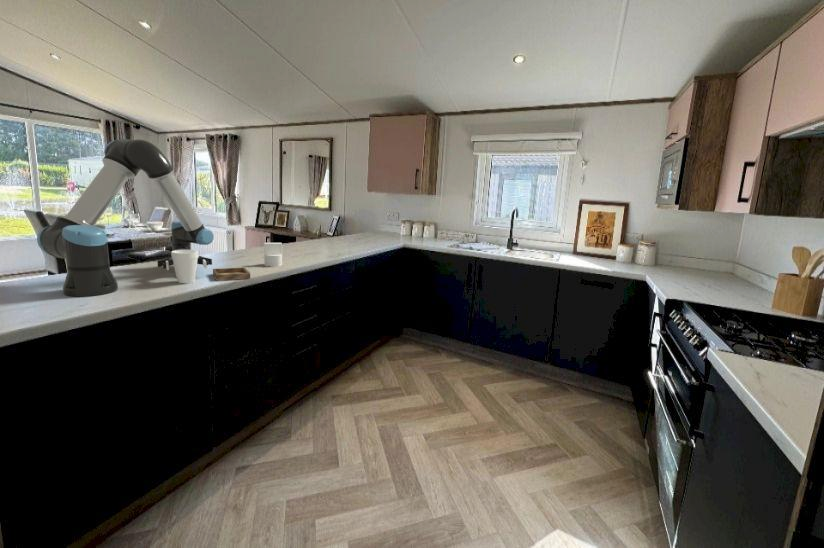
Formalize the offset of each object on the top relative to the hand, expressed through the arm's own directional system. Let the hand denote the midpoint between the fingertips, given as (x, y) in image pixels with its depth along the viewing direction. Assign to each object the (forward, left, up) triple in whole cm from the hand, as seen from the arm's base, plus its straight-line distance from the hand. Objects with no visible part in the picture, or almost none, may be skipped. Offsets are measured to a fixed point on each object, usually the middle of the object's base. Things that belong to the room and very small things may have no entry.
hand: (187, 266), depth 154 cm
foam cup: (-1, 0, -7) cm, 7 cm away
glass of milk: (+41, +27, -7) cm, 50 cm away
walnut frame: (+17, +5, -7) cm, 20 cm away
